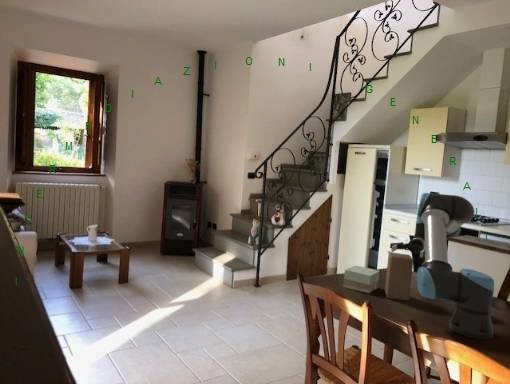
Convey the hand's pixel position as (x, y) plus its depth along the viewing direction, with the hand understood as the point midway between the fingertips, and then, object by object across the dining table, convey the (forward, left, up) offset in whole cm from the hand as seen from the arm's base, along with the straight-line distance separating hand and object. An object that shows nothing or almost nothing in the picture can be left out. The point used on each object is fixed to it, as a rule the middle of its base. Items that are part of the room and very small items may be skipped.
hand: (406, 251), depth 203 cm
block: (-10, 0, -20) cm, 23 cm away
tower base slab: (-9, +18, -21) cm, 29 cm away
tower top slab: (-9, +18, -16) cm, 26 cm away
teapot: (+17, -24, -20) cm, 36 cm away
